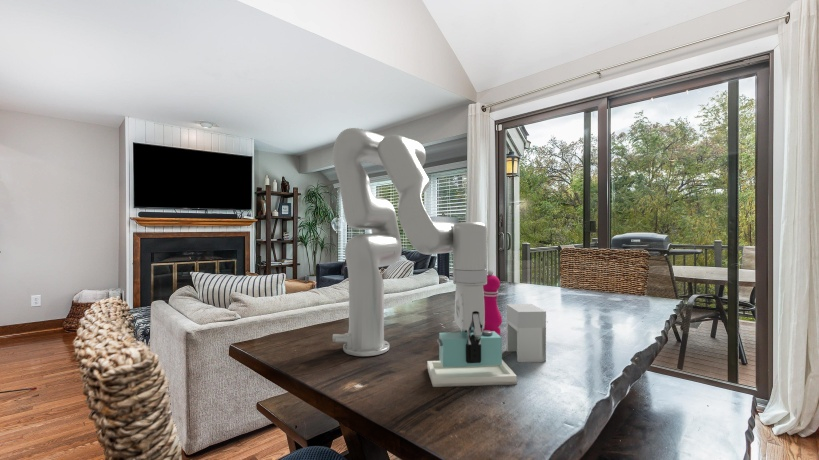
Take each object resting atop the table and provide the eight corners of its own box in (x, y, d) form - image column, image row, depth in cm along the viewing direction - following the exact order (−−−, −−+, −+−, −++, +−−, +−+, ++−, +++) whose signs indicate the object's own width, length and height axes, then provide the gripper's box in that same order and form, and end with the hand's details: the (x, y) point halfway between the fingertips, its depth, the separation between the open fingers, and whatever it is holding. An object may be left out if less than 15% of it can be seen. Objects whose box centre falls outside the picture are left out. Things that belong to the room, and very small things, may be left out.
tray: (432, 386, 78) (432, 378, 78) (427, 368, 88) (427, 361, 88) (516, 384, 79) (516, 375, 79) (501, 366, 89) (501, 359, 89)
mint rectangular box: (440, 367, 80) (440, 336, 80) (436, 359, 85) (436, 330, 85) (501, 364, 81) (501, 334, 81) (494, 356, 86) (494, 328, 86)
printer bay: (518, 362, 92) (518, 311, 92) (506, 350, 101) (506, 304, 101) (545, 361, 92) (546, 311, 92) (531, 349, 101) (531, 303, 101)
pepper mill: (500, 330, 120) (500, 268, 119) (503, 337, 112) (503, 271, 112) (477, 330, 120) (477, 268, 120) (479, 336, 113) (479, 271, 113)
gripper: (446, 272, 91) (447, 346, 92) (461, 282, 74) (461, 373, 75) (476, 272, 92) (477, 345, 92) (498, 282, 75) (498, 372, 75)
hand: (470, 357), depth 83 cm, fingers closed on mint rectangular box, 5 cm apart
